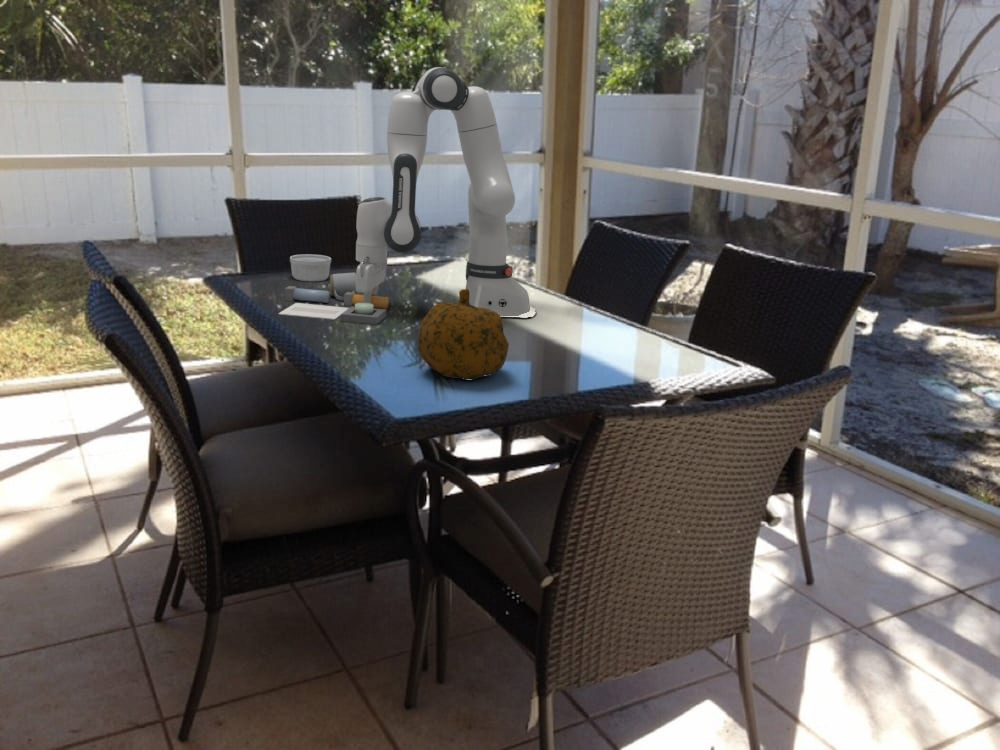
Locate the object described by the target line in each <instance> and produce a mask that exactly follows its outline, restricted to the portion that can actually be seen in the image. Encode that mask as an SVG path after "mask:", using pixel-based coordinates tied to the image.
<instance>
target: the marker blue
mask: <svg viewBox="0 0 1000 750" xmlns="http://www.w3.org/2000/svg"><path fill="white" fill-rule="evenodd" d="M330 298H331V292H330V291H329V290H319V289H307V288H298V286H293V285H288V286H287V287H285V288H284V301H288V302H294V301H300V302H301V301H303V302H309V303H310V302H311V303H323V304H328V303H330Z"/></svg>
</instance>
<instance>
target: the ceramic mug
mask: <svg viewBox="0 0 1000 750" xmlns="http://www.w3.org/2000/svg"><path fill="white" fill-rule="evenodd" d="M329 276H330V277H329V290H330V291H329V292H330V296H331V297H334V298H335V299H336V300H337V301H341V302H344V294H345V293H347V292H353V293H355V294H358V292H357V291H356V272H343V273H333V274H330V275H329Z"/></svg>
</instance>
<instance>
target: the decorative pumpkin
mask: <svg viewBox="0 0 1000 750" xmlns="http://www.w3.org/2000/svg"><path fill="white" fill-rule="evenodd" d="M458 294H459V298H458V299H459V302H439V303H436V304H435V305H433V306H432V307H431V308H430V310H429V311H428V312H427V314H426V315H425V316H424V317H423V319H422V321H421V323H420V327H419V331H418V340H417V341H418V342H417V343H418V345H417V349H418V352H419V356H420V357H421V358H422V360H423V361H424V362H425V364H426V365H428V366H429V368H431V369H433V370H434V371H436V372H438V373H440V375H442V376H443V377H447V378H449V377H457V378H456V379H461V378H464V379H474V380H476V379H478V378H482V377H481V376H484V375H489V374H492V375H494V374H496V373H498V372H499V371H500V370H501V369H502V368H503V366H504V365H505V363H506V360H507V356H508V352H509V351H508V350H509V345H510V343H509V342H508V339H507V337H506V335H505V334H504V325H503V321H502V318H501V317H500V315H499V314H498V313H497V312H494V311H491V310H489V309H486V308H478V307H475V306H472V305H470V303H469V290H468V289H465V288H463V289H461V290H459V293H458ZM475 378H476V379H475ZM464 379H463V380H464Z"/></svg>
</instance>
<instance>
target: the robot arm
mask: <svg viewBox="0 0 1000 750" xmlns="http://www.w3.org/2000/svg"><path fill="white" fill-rule="evenodd" d="M493 107H494V106H493V105H492V102H491V99H490V97H489V94H488V92H487V91H486V90H485V89H484V88H483V87H481V86H476V85H472V86H467V84H466V83H464V81H463V80H462V79H461V77H460V76H459V75H458V74H457V73H456V72H455V71H454V70H452V69H451V68H447V67H442V66H440V67H439V66H438V67H437V66H435V67H432V68H430V69H428V70H426V71H425V72H423V73H422V74H421V76H419V78H418V80H417V82H416V84H415V85H414V87H413V88H412V90H411V91H402V92H399V93H396V94H395V95H394V96H393V98H392V100H391V103H390V107H389V113H388V118H387V119H388V120H387V129H386V132H387V133H386V142H387V143H386V146H387V154H388V160H389V164H390V168H391V174H392V182H393V183H392V202H390V201H388V199H387V198H386V197H381V196H375V197H368V198H365V199H363V200H361V202H360V203H359V204H358V207H357V211H356V226H355V227H356V233H357V239H356V242H355V260H356V261H357V262H359V264H358V266H357V267H356V272H355V273H356V291H357V293H363V294H362V295H364V298H365V303H372V298H371V296H377V294H378V289H379V285H380V284H382V283H383V282H385V280H386V277H387V270H388V259H389V258H390V250H389V249H388V248H390V249H391V250H393V251H395V252H396V253H408V252H410V251H413V250H414V249H416V247H417V246H418V245H419V244H420V242H421V238H422V233H421V223H420V220H419V218H418V216H417V215H416V198H417V196H416V195H417V194H416V193H417V183H418V182H417V181H418V176H419V173H420V170H421V167H422V166H423V162H424V158H425V154H426V150H427V143H428V123H429V119H430V116H431V114H432V113H433V112H434V111H437V110H438V111H442V110H446V111H447V110H448V111H451V113H452V115H453V117H454V119H455V122H456V127H457V133H458V138H459V142H460V148H461V151H462V155H463V157H462V158H463V161H464V163H465V166H466V170H467V174H468V176H469V180H470V185H469V187H468V190H467V191H468V192H467V194H468V195H467V197H468V201H467V202H468V203H467V204H468V226H469V227H468V229H469V240H468V241H469V242H468V244H469V245H468V260H467V261H466V265H465V281H466V282H465V288H464V289H468V290H469V303H470V305H472V306H475V307H478V308H486V309H489V310H491V311H494V312H497V313H498V314H499V315H500V316H519V315H521V314H524V313H527V312H529V311H530V306H531V305H530V296H529V292H528V290H527V289H526V288H525V287H524V286H523V285H521V284H520V283H519V282H518V281H517V280H516V279H514V277H513V270H514V269H513V266H512V265H510V264H508V263H507V255H508V254H507V253H508V252H507V251H508V231H507V230H508V228H507V218H506V216H507V215H508V214H510V213H511V212H512V210H513V208H514V207H515V204H516V195H515V192H514V188H513V185H512V184H513V183H512V181H511V177H510V173H509V170H508V167H507V163H506V160H505V156H504V152H503V148H502V144H501V139H500V134H499V129H498V123H497V120H496V119H497V118H496V114H495V110H494V108H493Z"/></svg>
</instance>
